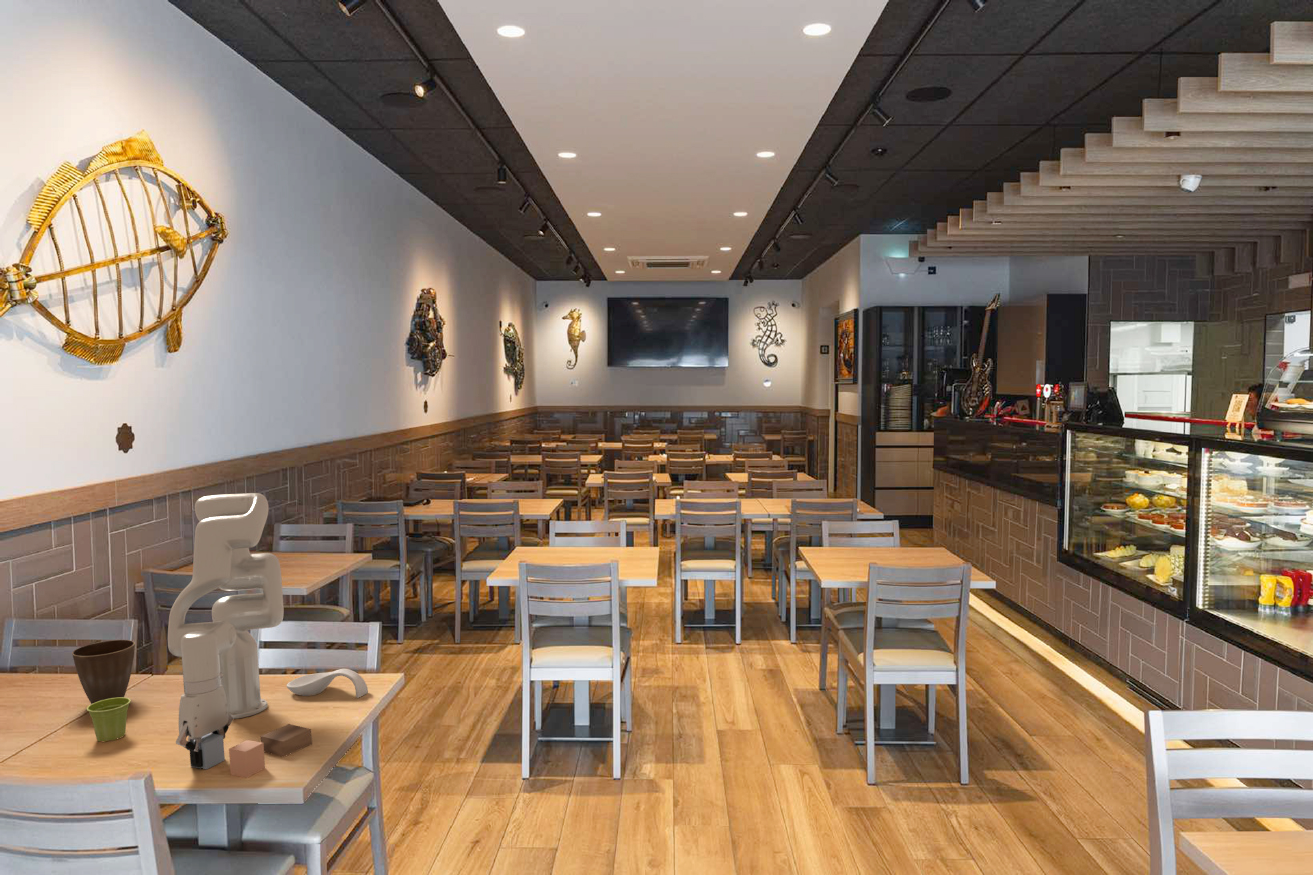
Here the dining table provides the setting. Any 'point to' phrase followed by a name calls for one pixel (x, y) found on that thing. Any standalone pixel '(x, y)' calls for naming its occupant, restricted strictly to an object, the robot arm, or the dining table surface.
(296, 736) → the walnut base
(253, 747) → the terracotta block
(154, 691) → the dining table surface
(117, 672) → the plant pot
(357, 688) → the spoon rest
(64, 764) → the dining table surface
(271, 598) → the robot arm
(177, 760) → the dining table surface
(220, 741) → the slate block
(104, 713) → the plant pot
